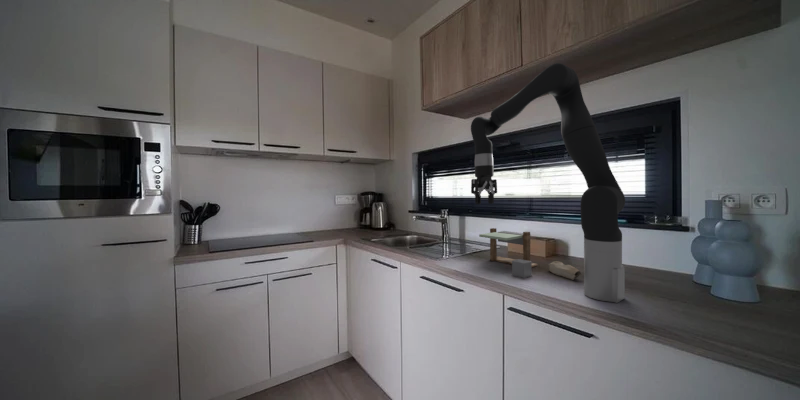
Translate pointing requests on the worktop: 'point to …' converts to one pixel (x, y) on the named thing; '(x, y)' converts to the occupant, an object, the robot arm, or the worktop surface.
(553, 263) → the bone fragment
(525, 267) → the grey block
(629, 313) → the worktop surface
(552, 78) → the robot arm
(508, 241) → the trapdoor
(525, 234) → the frame
